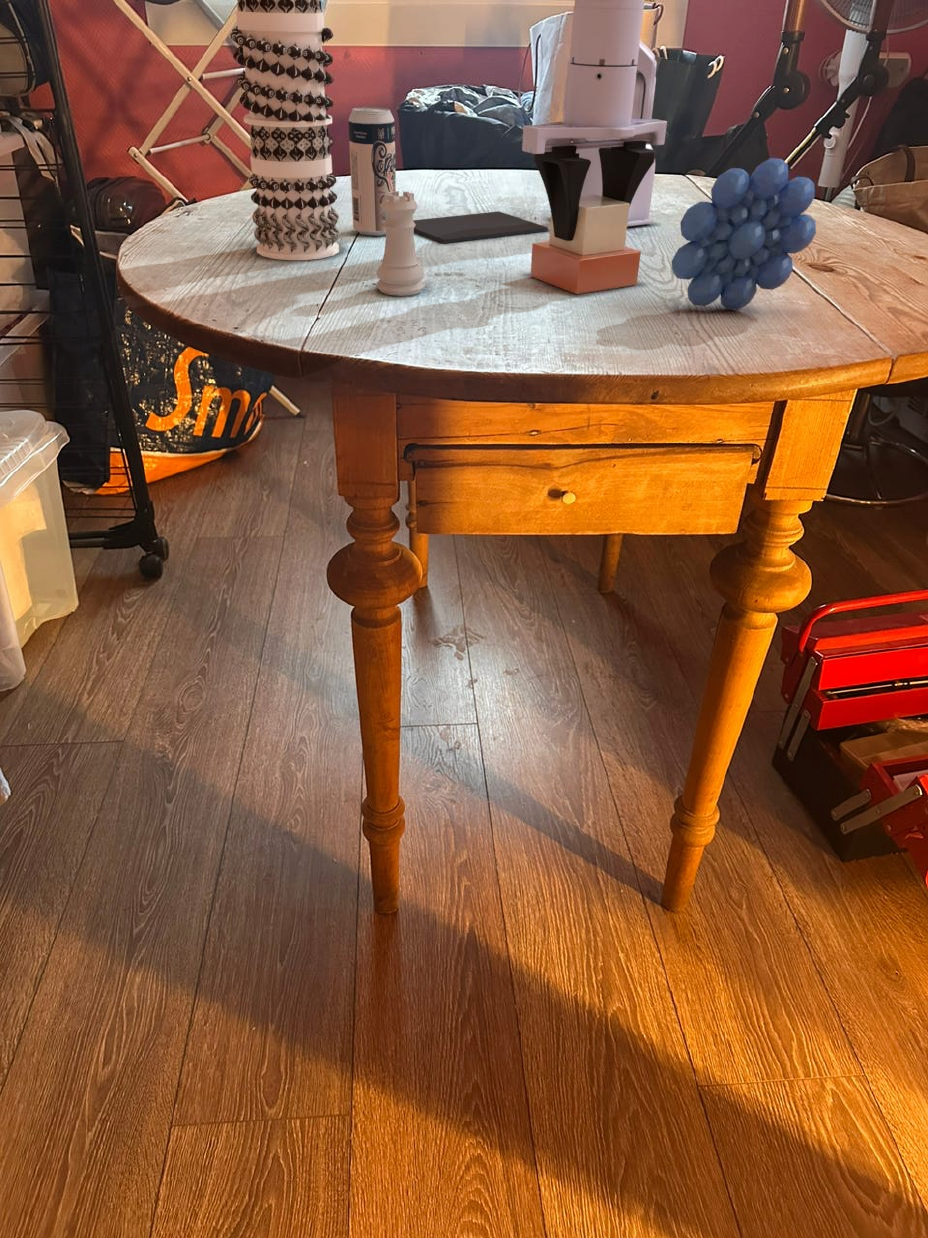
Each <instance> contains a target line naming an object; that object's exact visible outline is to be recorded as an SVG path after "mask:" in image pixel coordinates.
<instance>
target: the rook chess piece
mask: <svg viewBox="0 0 928 1238" xmlns="http://www.w3.org/2000/svg"><path fill="white" fill-rule="evenodd" d="M380 207H381V208H382V210H383V211H384V213H385V215H386V222H385V223H384V224H383V225H384V226H385V228H386V235H385V241H384V242H385V243H384V253H383V256H382V259H381V260H380V266H379V267H378V268H377V270H376V273H375V274H376V277H378V279H379V280H378V281H376V283H375V286H376V287H377V288H378V289H377V290H379V291H380V293H382V294H384V295H388V296H393V297H394V296H395V297H405V296H406V297H407V296H413V295H417V294H420V293H421V292H422V291H423V289H424V288H425V286H426V283H424V281H423V280H422V279H423V278H424V276H425V271H424V269H423V267H421V265H420V260H419V259H418V256H417V252H416V246H415V237H414V234H415V232H414V227H415V225H416V224H415V223H414V222H413V220H414V214H415V213H416V211H417V209H418V208H419V205H418V204H417V202H416V201H415V193H413V192H409V191H402V195H400V191H398V190H396V191H393V196H392V195H391V192H386V193H385V194H384V201H383V202H382V204H381V205H380Z"/></svg>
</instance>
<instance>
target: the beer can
mask: <svg viewBox="0 0 928 1238" xmlns="http://www.w3.org/2000/svg"><path fill="white" fill-rule="evenodd" d="M347 123H348V139H349V140H348V143H349V144H348V145H349V162H350V163H349V164H350V165H349V167H350V186H351V209H352V228H353V230H355V231H357V233H359V234H360V235H363V236H372V237H373V236H374V237H376V236H377V237H379V236H386V228H385V226H384V225H383V224H384V223H385V222H386V215H385V213H384V211H383V210H382V208H381V207H380V205H381V204H382V202H383V201H384V194H385V193H386V192H391V195H392V196H393V191H397V179H396V177H397V176H396V174H397V173H396V125H395V118H394V116H393V114H392V112H391V109H389V108H386V107H385V108H384V107H354V108H352V109H351V112H350V114H349V117H348V121H347Z"/></svg>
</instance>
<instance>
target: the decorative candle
mask: <svg viewBox="0 0 928 1238" xmlns="http://www.w3.org/2000/svg"><path fill="white" fill-rule="evenodd" d="M236 1H237V10H236V11H235V15H236V16H235V17H236V26H235V27H234V28H232V30H231V32H230V35H229V36H230V39H231V40H232V41H233V42H234V43H236V44H237V45H238V47H237V48H236V49H235V50H234V52H233V53H232V58H233V59H234V60H235V61H236V63H237V64H239V65H240V66H242V67H244V69H243V70H242V72H241V73H239V74H238V76H237V79H236V83H237V85H238V86H239V87H240V88H241V89H242V90H244V91H243V92H242V94H241V96H240V97H239V99H238V100H239V103H240V104H241V106H242V107H243V108H244V109H245V110H247V111H248V113H247V114H244V116H243V123H244V124H246V125H248V128H249V131H250V134H249V139H250V147H251V154H250V158H249V159H250V169H251V174H252V175H251V176H250V177H249V178H248V182H249V184H250V185H251V186H252V187H254V188H255V191H254V192H253V193H252V194H251V195H250V199H251V201H252V202H253V203H254V204H256V205H257V207H256V209H255V210H254V212H253V213H252V215H251V217H252V218H251V219H252V221H253V223H254V224H255V225H256V226H257V227H256V228H255V229H254V231H253V236H254V238H255V240H256V241H257V242H259V243H257V245H256V253H257V254H258V255H260V256H261V257H265V258H269V259H272V260H281V261H309V260H319V259H320V260H321V259H326V258H329V257H333V256H335V255H336V254H338V253H340V247H339V246H340V245H339V243H337V241H338V239H339V236H340V230H339V229H338V228H337V226H336V225H337V224H338V221H339V218H340V216H339V214H338V212H337V211H336V209H335V208H334V207H333V206H332V204H334V203H336V202H337V199H338V195H337V194H336V192H334V191H333V190H332V189H331V188H332V187H334V186H335V184H336V183H337V177H336V176H335V175H333V174H332V173H333V162H332V161H333V160H332V154H331V153H330V140H329V139H330V137H329V125H331V124H333V116H332V115H330V114H328V113H327V112H328V111H329V110H330V109H332V108H333V107H334V101H333V99H332V98H330V97H329V96H328V94H326V92H325V89H326V87H327V89H328V87H329V85H331V84H333V83H334V80H335V79H334V76H333V75H332V74H330V72H328V71H327V69H328V67H329V66H331V65H332V64H333V63H334V62H333V61H334V58H333V57H334V56H333V55H332V54H330V53H329V52H328V51H327V49H325V50H324V51H323V46H324V45H325V42H328V41H329V40H331V39H333V38H334V32H333V31H332V29H331V28H330V27H325V16H324V14H325V13H324V12H322V11H323V10H322V0H236ZM324 68H325V70H324Z"/></svg>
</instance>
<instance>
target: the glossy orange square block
mask: <svg viewBox="0 0 928 1238" xmlns="http://www.w3.org/2000/svg"><path fill="white" fill-rule="evenodd" d="M641 255H642V252H641V250H637V249H634V248H631V247H628V246H625V249H624V250H620V251H613V252H605V253H598V254H591V255H583V256H582V255H579V254H576V253H573V252H570V251H567V250H564V249H561V248H559V247H556V246H553V245H550V244H549V241H541V242H533V243H532V246H531V259H530V260H531V262H530V275H529V276H530V277H532V278H535V279H537V280H539V281H542V282H545V283H547V284H549V285H552V286H555V287H557V288H560V289H562V290H565V291H567V292H570V293H572V294H574V295H581V294H588V293H594V292H600V291H606V290H613V289H619V288H624V287H631V286H636V285H638V280H639V279H638V278H639V270H640V263H641V262H640V261H641Z"/></svg>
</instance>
